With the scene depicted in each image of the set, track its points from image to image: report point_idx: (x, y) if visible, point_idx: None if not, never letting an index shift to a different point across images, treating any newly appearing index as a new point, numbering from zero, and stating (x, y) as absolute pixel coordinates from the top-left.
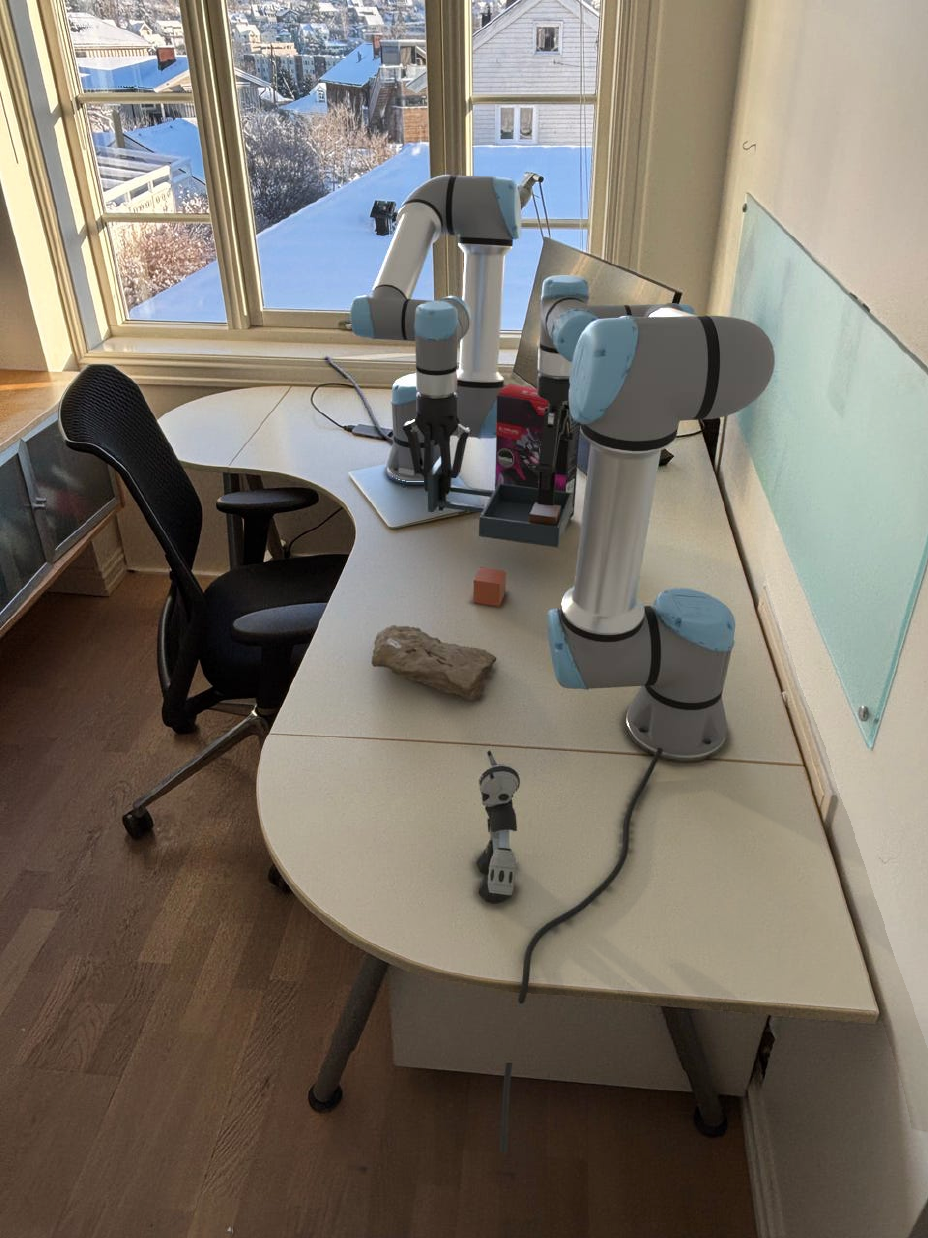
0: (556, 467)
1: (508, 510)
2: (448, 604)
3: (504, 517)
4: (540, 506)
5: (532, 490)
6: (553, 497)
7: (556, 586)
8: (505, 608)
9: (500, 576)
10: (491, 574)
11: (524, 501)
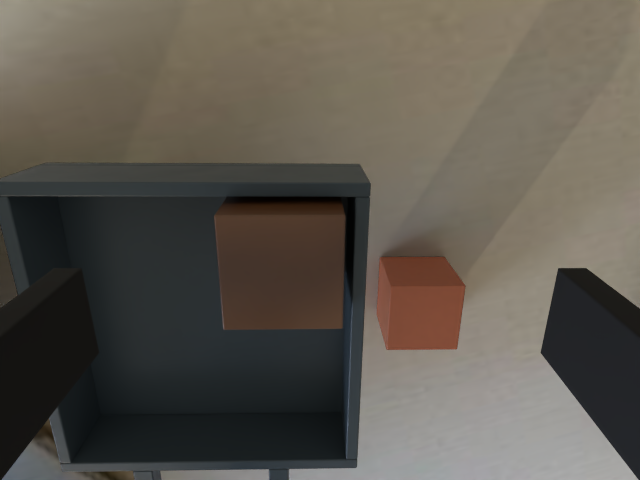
0: (70, 356)
1: (161, 376)
2: (453, 358)
3: (217, 377)
4: (256, 301)
5: None
6: (622, 296)
7: (312, 137)
8: (447, 241)
9: (425, 292)
10: (419, 316)
11: None
